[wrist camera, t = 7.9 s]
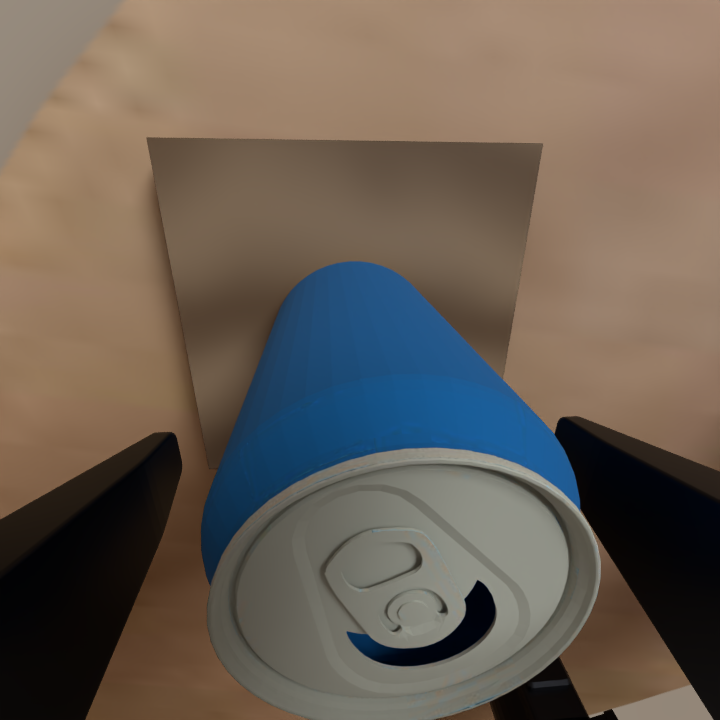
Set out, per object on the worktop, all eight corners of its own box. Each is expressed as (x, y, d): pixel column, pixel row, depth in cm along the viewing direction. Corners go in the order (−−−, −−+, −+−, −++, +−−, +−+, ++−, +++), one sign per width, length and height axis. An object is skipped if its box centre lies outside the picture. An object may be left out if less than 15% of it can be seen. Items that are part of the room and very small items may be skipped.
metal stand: (475, 433, 22) (489, 455, 20) (219, 444, 20) (209, 469, 19) (518, 149, 16) (542, 143, 14) (168, 144, 15) (146, 137, 13)
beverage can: (320, 422, 18) (315, 778, 7) (246, 302, 16) (56, 566, 5) (448, 364, 17) (659, 656, 6) (391, 229, 15) (581, 329, 4)
